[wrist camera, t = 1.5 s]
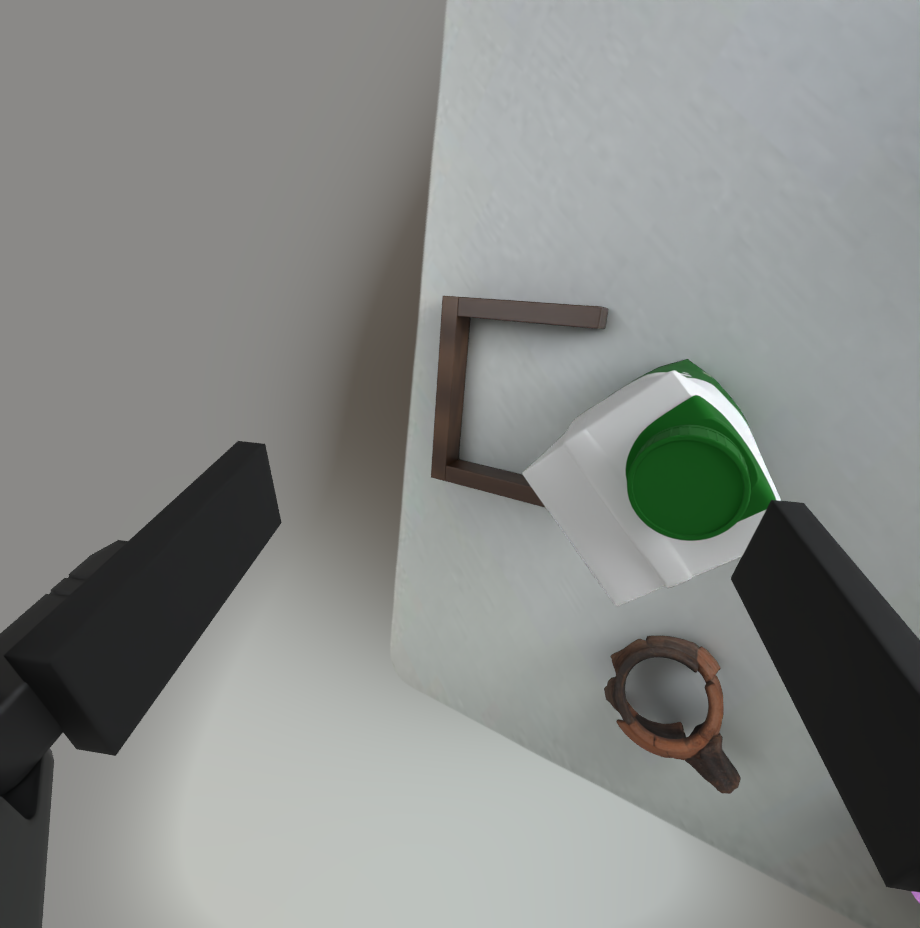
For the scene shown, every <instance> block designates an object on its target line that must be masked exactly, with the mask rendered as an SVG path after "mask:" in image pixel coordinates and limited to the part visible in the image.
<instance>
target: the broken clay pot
mask: <svg viewBox="0 0 920 928" xmlns="http://www.w3.org/2000/svg"><path fill="white" fill-rule="evenodd" d="M654 657H664V658H670V659H673V660H676V661H678V662H680V663H682V664H684V665H686V666H687V667H688V668H690V669H691V670H692V671H694V672H697V671H699V673H700V674H701V675H702V676H703V678H704V680H705V682H706V685H705V690H706V694H707V697H708V705H709V707H708V714H707V718H706V720H705V722H703V723H702V724H700V725H697V726H696V727H695V728H694V730H693V732H692V733H691V735H690V736H689V737H687V738H686V736H685V733H684V729H683V725H682V723H681V722H677V723H672V724H661V723H657V722H653V721H650V720H647V719H646V718H644V717H642V716H641V715H639V714H638V713H637V712H636V711H635V710H634V709H633V708H632V707H631V705H630V704H629V703H628V702H627V700H626V696H625V684H626V678H627V676H628V674H629V672H630V671H631V669H632V668H633V667H634V666H635V665H636V664H637V663H639V662H641V661H643V660H645V659H648V658H654ZM611 658H612V663H613V666H614V669H615V672H616V677H613V678H611V679H610V680H609V681H608V683H607V686H606V687H605V688H604V691H605V696H606V699H607V701H609V702H610V703H611V705H612V706H613V707H614V708H615V709H616V710H617V711H618V712H619V713H620V714H621V716H622V718H623V720H624V721H623V720H617V724H618V725H619V727H620V728H621V729H622V731H623V732H624V733H625V734H626V735H627V736H628V737H629V738H630V739H631V740H632V741H633V742H635V743H636V744H637V745H639V746H640V747H642V748H643V749H645V750H647V751H649V752H651V753H653V754H656V755H659V756H661V757H665V758H675V759H681V760H685V761H686V762H687V763H689V764H690V765H691V766H692V767H693V768H694V769H696V771H697V772H698V773H699V774H700V775H701V776H702V777H703V778H704V779H705V780H707V781H708V782H710V783H711V784H712V785H713V786H714V787H715V788H716V789H717V790H718V791H720V792H721V793H732V791H733V790H734V789H736V788H738V786H739V782H740V775H739V774H738V772H737V770H736V768H735V767H734V766H733V764H732V763H731V762H730V760H729V759H728V757H727V756H726V755H725V753H724V752H723V750H722V736H721V734H720V733H719V731H720V728H721V724H722V718H723V693H722V689H721V685H720V682H719V680H718V678H717V676H716V673H717V672H718V670H720V666H719V665H718V663H717V661H716V660H715V659H714V657H713V656H712V655H711V654H710V653H709V652H708V651H707V650H706V649H705V648H703V647H698V645H697V644H695V643H694V642H690V641H687V640H684V639H679V638H675V637H670V636H647V638H646V641H645V640H642V639H638V640H636V641H634V642H632V643H631V644H629V645H628V646H626V647H625V648H624V649H622V650H620V651H619V652H616V653H614V654H612V655H611Z"/></svg>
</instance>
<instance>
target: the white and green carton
mask: <svg viewBox="0 0 920 928" xmlns="http://www.w3.org/2000/svg"><path fill="white" fill-rule="evenodd" d="M522 474H523V476H524V477H525V479H526V480H527V482H528V483H529V484H530V486H531V487H532V489H533V490H534V492H535V493H536V494H537V496H538V497H539V499H540V500H541V501H542V503H543V504H544V506H545V507H546V509H547V510H548V511H549V513H550V514H551V516H552V517H553V518H554V520H555V521H556V523H557V524H558V526H559V527H560V528H561V530H562V531H563V533H564V534H565V535H566V537H567V538H568V540H569V541H570V543H571V544H572V545H573V547H574V548H575V550H576V551H577V552H578V554H579V555H580V557H581V558H582V560H583V561H584V562H585V564H586V565H587V567H588V568H589V569H590V571H591V572H592V574H593V575H594V577H595V578H596V579H597V581H598V582H599V584H600V585H601V586H602V588H603V589H604V591H605V592H606V594H607V595H608V596H609V598H610V599H611V601H612V602H613V603H614V605H615V606H619V605H622V604H624V603H627V602H629V601H632V600H634V599H636V598H639V597H641V596H644V595H646V594H648V593H651V592H653V591H655V590H658V589H660V588H663V587H666V588H671V587H674V586H676V585H679V584H681V583H683V582H686V581H688V580H690V579H692V578H693V577H694V576H697V575H699V574H702V573H704V572H706V571H709V570H711V569H713V568H716V567H718V566H720V565H723V564H725V563H727V562H730V561H732V560H734V559H737V558H739V557H741V556H743V554H744V552H745V550H746V548H747V546H748V544H749V542H750V540H751V538H752V536H753V534H754V533H755V531H756V529H757V527H758V525H759V523H760V521H761V519H762V517H763V515H764V513H765V511H766V509H767V507H768V505H769V504H770V502H771V500H779V501H781V499H780V497H779V494H778V492H777V490H776V488H775V486H774V483H773V481H772V479H771V477H770V475H769V472H768V470H767V468H766V466H765V464H764V461H763V459H762V457H761V454H760V452H759V450H758V447H757V445H756V442H755V440H754V438H753V435H752V433H751V430H750V428H749V426H748V423H747V421H746V419H745V418H744V416H743V414H742V412H741V411H740V409H739V408H738V406H737V405H736V404H735V402H734V401H733V400H732V398H731V397H730V396H729V395H728V393H727V392H726V391H725V390H724V389H723V388H722V387H721V386H720V385H719V383H718V382H717V381H716V380H715V379H714V378H712V377H711V376H710V375H708V374H707V373H706V372H704V371H703V370H702V369H700V368H699V367H698V366H696V365H695V364H693V363H692V362H691V361H689V360H688V359H686V360H683V361H679V362H676V363H672V364H668V365H665V366H661V367H658V368H656V369H654V370H652V371H650V372H648V373H646V374H644V375H643V376H641V377H639V378H638V379H636V380H634V381H632V382H631V383H629V384H628V385H626V386H625V387H623V388H622V389H620V390H618V391H617V392H615V393H614V394H612V395H611V396H609V397H608V398H606V399H605V400H603V401H601V402H599V403H598V404H596V405H595V406H593V407H591V408H590V409H588V410H587V411H585V412H584V413H583V414H581V415H580V416H578V417H577V418H576V419H574V420H573V421H572V423H571V424H570V426H569V428H568V430H567V432H565V433H564V434H563V435H562V436H561V437H560V438H559V439H558V440H557V441H556V442H555V443H554V444H553V445H552V446H551V447H550V448H549V449H548V450H547V451H546V452H545V453H544V454H542V455H541V456H540V457H539V458H538V459H537V460H536V461H535V462H533V463H532V464H531V465H530V466H529V467H528V468H527V469H526V470H524V471H523V472H522Z"/></svg>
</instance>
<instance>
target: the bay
mask: <svg viewBox="0 0 920 928" xmlns="http://www.w3.org/2000/svg"><path fill="white" fill-rule="evenodd" d="M607 314H608V308H604V307H598V306H584V305H569V304H555V303H540V302H526V301H511V300H497V299H482V298H468V297H454V296H443V300H442V315H441V331H440V346H439V362H438V377H437V393H436V408H435V423H434V439H433V454H432V470H431V477H432V478H436V479H440V480H443V481H448V482H451V483H455V484H459V485H463V486H466V487H470V488H474V489H478V490H482V491H485V492H489V493H493V494H497V495H500V496H504V497H508V498H512V499H516V500H519V501H523V502H527V503H531V504H535V505H538V506H542V507H545V506H544V504H543V503H542V501H541V500H540V499H539V497H538V496H537V494H536V493H535V492H534V490H533V489H532V487H531V486H530V484H529V483H528V482H527V480H526V479H525V477H524V476H523V475H521V474H517V473H513V472H509V471H505V470H501V469H496V468H492V467H488V466H484V465H480V464H475V463H471V462H467V461H463V460H458V459H459V447H460V435H461V423H462V411H463V399H464V387H465V375H466V363H467V351H468V339H469V327H470V317H472V318H483V319H494V320H506V321H517V322H528V323H539V324H550V325H561V326H573V327H584V328H595V329H605V325H606V320H607Z"/></svg>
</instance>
